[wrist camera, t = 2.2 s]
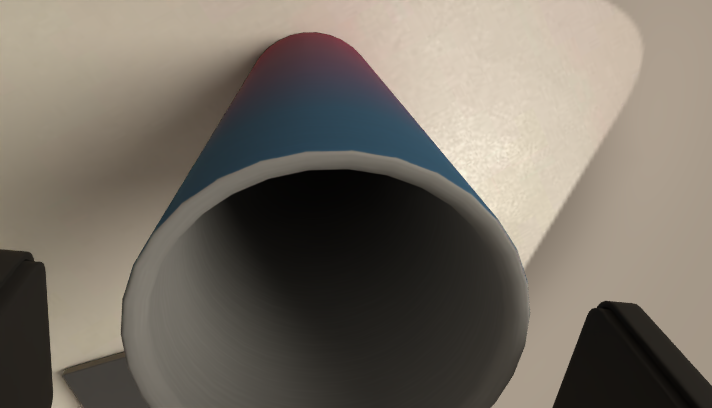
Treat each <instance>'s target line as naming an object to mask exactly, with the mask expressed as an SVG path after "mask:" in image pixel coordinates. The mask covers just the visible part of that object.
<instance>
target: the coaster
mask: <svg viewBox="0 0 712 408" xmlns="http://www.w3.org/2000/svg"><path fill="white" fill-rule="evenodd" d="M62 377H63V378H64V380H65V381H66V383H67V384H68V386H69V387H70V388H71V390H72V391H73V393H74V394H75V396H76V397H77V399H78V400H79V402H80V403H81V405H82V406H83V408H150V407H149V406H148V404H147V403H146V402H145V401H144V399H143V398H142V397H141V394H140V392H139V390H138V388H137V386H136V384H135V382H134V380H133V377H132V375H131V373H130V371H129V369H128V366H127V361H126V356H125V352H122V353H118V354H115V355H112V356H108V357H105V358H101V359H98V360H94V361H91V362H88V363H84V364H81V365H77V366H74V367H70V368H67V369H65V371H64V373H63V375H62Z"/></svg>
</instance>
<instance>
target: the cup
mask: <svg viewBox="0 0 712 408" xmlns="http://www.w3.org/2000/svg"><path fill="white" fill-rule="evenodd" d="M529 317H530V309H529V295H528V282H527V278H526V275H525V272H524V269H523V266H522V263H521V260H520V257H519V254H518V251H517V249H516V247H515V246H514V244H513V242H512V241H511V239H510V238H509V236H508V234H507V233H506V231H505V230H504V228H503V226H502V225H501V223H500V222H499V220H498V219H497V218H496V216H495V215H494V214H493V213H492V212H491V210H490V209H489V208H488V207H487V206H486V204H485V203H484V202H483V201H482V200H481V198H480V197H479V196H478V195H477V194H476V192H475V191H474V190H473V189H472V188H471V186H470V185H469V184H468V183H467V182H466V180H465V179H464V178H463V177H462V176H461V175H460V173H459V172H458V171H457V170H456V169H455V167H454V166H453V165H452V164H451V163H450V161H449V160H448V159H447V158H446V157H445V155H444V154H443V153H442V152H441V151H440V149H439V148H438V147H437V146H436V145H435V143H434V142H433V141H432V140H431V139H430V137H429V136H428V135H427V134H426V133H425V131H424V130H423V129H422V128H421V127H420V126H419V124H418V123H417V122H416V121H415V120H414V118H413V117H412V116H411V115H410V114H409V112H408V111H407V110H406V109H405V108H404V106H403V105H402V104H401V103H400V102H399V100H398V99H397V98H396V97H395V96H394V94H393V93H392V92H391V91H390V90H389V88H388V87H387V86H386V85H385V84H384V83H383V81H382V80H381V79H380V78H379V77H378V75H377V74H376V73H375V72H374V71H373V69H372V68H371V67H370V66H369V65H368V63H367V62H366V61H365V60H364V59H363V57H362V56H361V55H360V54H359V53H358V52H357V51H356V50H355V49H354V48H353V47H352V46H350V45H349V44H347V43H346V42H344V41H343V40H341V39H338V38H336V37H333V36H331V35H327V34H322V33H317V32H314V33H299V34H295V35H290V36H288V37H286V38H283V39H281V40H279V41H277V42H276V43H275V44H273V45H272V46H270V47H269V48H268V49H267V50H266V51H265V52H264V53H263V54H262V55H261V56H260V57H259V59H258V60H257V62H256V64H255V65H254V67H253V69H252V70H251V72H250V74H249V75H248V77H247V78H246V80H245V82H244V83H243V85H242V87H241V88H240V90H239V92H238V93H237V95H236V97H235V98H234V100H233V101H232V103H231V105H230V106H229V108H228V110H227V111H226V113H225V115H224V116H223V118H222V119H221V121H220V123H219V124H218V126H217V128H216V129H215V131H214V133H213V134H212V136H211V138H210V139H209V141H208V142H207V144H206V146H205V147H204V149H203V151H202V152H201V154H200V156H199V157H198V159H197V161H196V162H195V164H194V165H193V167H192V169H191V170H190V172H189V174H188V175H187V177H186V179H185V180H184V182H183V183H182V185H181V187H180V188H179V190H178V192H177V193H176V195H175V197H174V198H173V200H172V202H171V203H170V205H169V206H168V208H167V210H166V211H165V213H164V215H163V216H162V218H161V220H160V221H159V223H158V224H157V226H156V228H155V229H154V231H153V233H152V234H151V236H150V238H149V239H148V241H147V243H146V244H145V246H144V248H143V249H142V251H141V253H140V254H139V256H138V258H137V259H136V261H135V263H134V264H133V267H132V270H131V274H130V277H129V280H128V283H127V287H126V290H125V293H124V296H123V301H122V321H121V337H122V342H123V346H124V351H125V356H126V361H127V366H128V369H129V371H130V373H131V375H132V377H133V380H134V382H135V384H136V386H137V388H138V390H139V392H140V394H141V397H142V398H143V399H144V401H145V402H146V403H147V404H148V406H149V407H150V408H490V407H492V405H494V404H495V402H496V401H497V399H498V398H499V396H500V395H501V393H502V392H503V390H504V389H505V387H506V385H507V384H508V383H509V381H510V379H511V378H512V376H513V374H514V372H515V369H516V367H517V364H518V362H519V359H520V357H521V354H522V352H523V349H524V347H525V342H526V336H527V329H528V323H529Z"/></svg>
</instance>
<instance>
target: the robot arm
mask: <svg viewBox="0 0 712 408" xmlns="http://www.w3.org/2000/svg"><path fill="white" fill-rule="evenodd" d="M52 400H53V384H52V368H51V352H50V335H49V319H48V303H47V287H46V271H45V266H44V264H43V263H42V262H35V261H34V258H33V256H32V254H31V253H30V252H25V251H13V250H1V249H0V408H51V406H52ZM553 408H712V386H711V385H710V384H709V382H708V381H707V380H706V379H705V378H704V377H703V376H702V375H701V374H700V372H699V371H698V370H697V369H696V368H695V367H694V366H693V365H692V364H691V363H690V361H688V360H687V358H686V357H685V356H684V355H683V354H682V353H681V351H680V350H679V349H678V348H677V347H676V346H675V345H674V344H673V343H672V342H671V340H670V339H669V338H668V337H667V336H666V335H665V334H664V333H663V332H662V330H661V329H660V328H659V327H658V326H657V325H656V324H655V323H654V322H653V321H652V320H651V318H650V317H649V316H648V315H647V314H646V313H645V312H644V311H643V310H642V309H641V307H639V306H638V305H637V304H633V303H622V302H611V301H604V302H601V303H600V304H599V305H598V306H597V308H594V309H591V310H590V311H589V313H588V315H587V317H586V320H585V323H584V325H583V328H582V331H581V333H580V336H579V339H578V342H577V344H576V347H575V349H574V352H573V355H572V357H571V360H570V363H569V366H568V368H567V371H566V373H565V376H564V379H563V381H562V384H561V387H560V389H559V392H558V395H557V397H556V400H555V403H554V405H553Z"/></svg>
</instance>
